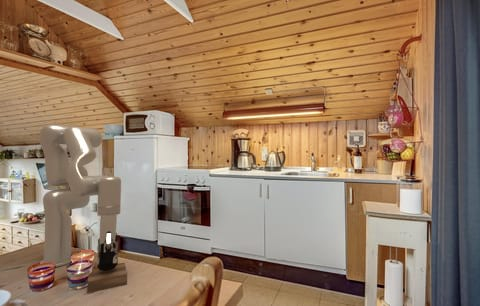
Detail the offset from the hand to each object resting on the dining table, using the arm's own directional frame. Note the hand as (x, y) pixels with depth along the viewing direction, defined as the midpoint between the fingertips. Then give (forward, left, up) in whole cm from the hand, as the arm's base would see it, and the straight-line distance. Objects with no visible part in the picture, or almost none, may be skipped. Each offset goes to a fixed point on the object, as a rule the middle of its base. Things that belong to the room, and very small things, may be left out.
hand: (107, 258), depth 90 cm
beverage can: (0, 0, -3) cm, 3 cm away
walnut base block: (0, 0, -8) cm, 8 cm away
